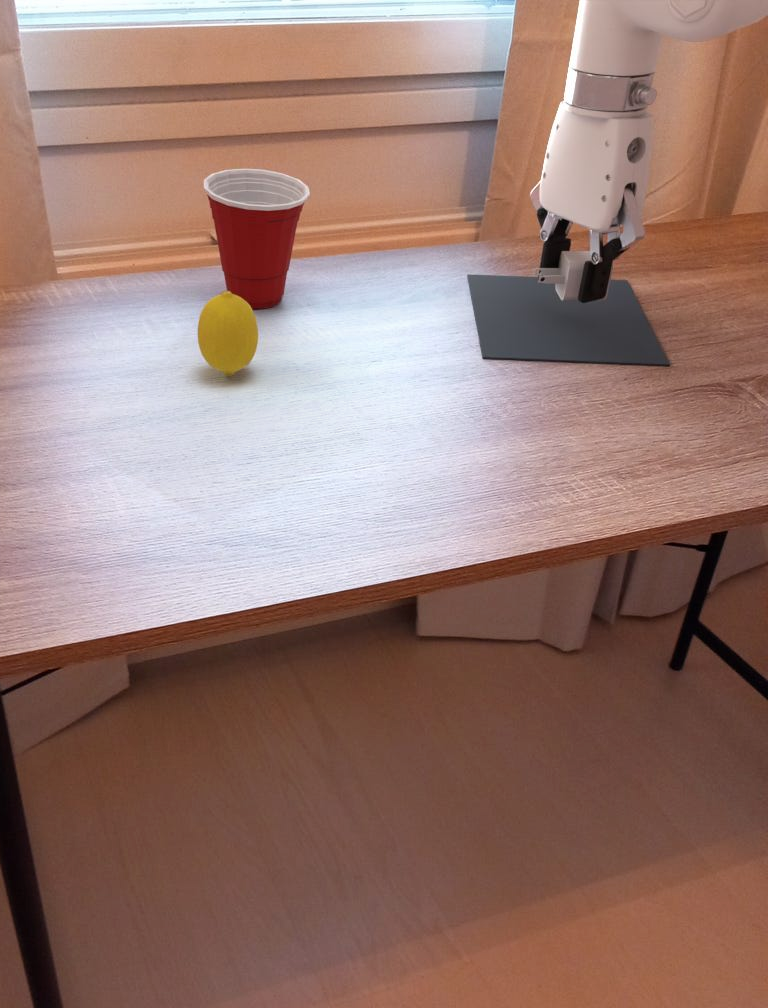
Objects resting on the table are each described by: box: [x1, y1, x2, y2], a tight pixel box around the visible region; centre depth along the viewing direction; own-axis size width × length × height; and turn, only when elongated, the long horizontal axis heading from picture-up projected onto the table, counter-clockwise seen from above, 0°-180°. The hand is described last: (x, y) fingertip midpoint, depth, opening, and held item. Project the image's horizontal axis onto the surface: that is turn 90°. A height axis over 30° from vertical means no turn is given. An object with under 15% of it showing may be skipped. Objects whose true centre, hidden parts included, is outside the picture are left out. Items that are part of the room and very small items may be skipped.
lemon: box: [197, 290, 259, 377], centre depth 93 cm, size 6×6×8 cm
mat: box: [466, 273, 671, 367], centre depth 107 cm, size 22×18×1 cm
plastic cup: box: [203, 168, 311, 310], centre depth 106 cm, size 11×11×12 cm
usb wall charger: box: [533, 250, 614, 301], centre depth 103 cm, size 4×7×4 cm, turn 90°
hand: (571, 288), depth 103 cm, fingers closed on usb wall charger, 5 cm apart
